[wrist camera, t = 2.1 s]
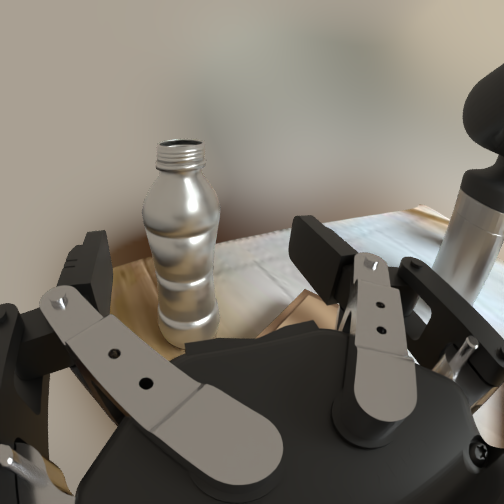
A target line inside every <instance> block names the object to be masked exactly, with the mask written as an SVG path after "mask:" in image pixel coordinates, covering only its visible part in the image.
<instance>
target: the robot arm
mask: <svg viewBox="0 0 504 504" xmlns="http://www.w3.org/2000/svg"><path fill="white" fill-rule="evenodd" d="M463 124H464V128H465V130H466V132H467V134H468V135H469V137H470V138H471V139H472V140H473V141H475V142H476V143H477V144H479V145H480V146H482V147H484V148H486V149H488V150H490V151H492V152H495V153H497V154H499V156H498V159H497V161H496V163H495V164H494V165H493V166H491V167H488V168H485V169H472V170H467V171H466V172H465V173H464V175H463V179H462V183H461V186H460V190H459V194H458V197H457V200H456V204H455V207H454V210H453V214H452V216H451V219H450V222H449V225H448V228H447V231H446V234H445V236H444V239H443V242H442V244H441V247H440V249H439V252H438V254H437V257H436V259H435V262H434V264H433V267H432V269H431V268H430V267H429V266H428V265H427V264H425V263H424V262H423V261H421V260H419V259H416V258H413V257H404V258H402V260H401V263H400V266H399V268H398V267H388V266H387V263H386V262H385V261H384V260H383V259H382V258H380V257H379V256H377V255H374V254H371V253H358V252H357V251H356V250H355V249H353V248H352V247H351V246H350V245H349V244H348V243H347V242H345V241H344V240H343V239H342V238H341V237H339V235H337V234H336V233H335V232H334V231H333V230H331V229H329V228H327V227H325V226H324V225H323V224H322V223H320V222H319V221H318V220H317V219H316V218H315V217H313V216H311V215H308V216H295V217H294V219H293V223H292V229H291V236H290V242H289V257H290V259H291V261H292V262H293V263H294V265H295V266H296V267H297V268H298V270H299V271H300V272H301V274H302V275H303V276H304V277H305V279H306V280H307V281H308V282H309V284H310V285H311V286H312V287H313V289H314V290H315V291H316V292H317V294H318V295H319V296H320V298H321V299H322V300H323V301H324V303H325V304H326V305H327V306H328V305H333V304H337V303H339V304H340V305H339V308H338V311H337V317H336V324H335V330H333V329H325V328H319V327H318V326H317V324H316V323H315V321H314V320H310V321H305V322H301V323H296V324H292V325H287V326H284V327H282V328H279V329H277V330H275V331H273V332H271V333H268V334H266V335H264V336H261V337H259V338H255V339H236V338H216V339H209V340H203V341H196V342H189V343H184V345H185V353H186V354H183V355H180V356H178V357H176V358H174V359H172V360H171V361H168V360H166V359H165V358H164V357H163V356H161V355H160V354H159V353H157V352H156V351H155V350H154V349H152V348H151V347H150V346H149V345H148V344H146V343H145V342H144V341H143V340H142V339H140V338H139V337H138V336H137V335H136V334H134V333H133V332H132V331H131V330H130V329H129V328H128V327H126V326H125V325H124V324H123V323H122V322H121V321H120V320H119V319H117V318H116V317H115V316H114V315H112V314H110V302H111V292H112V283H113V269H112V263H111V257H110V252H109V246H108V240H107V235H106V231H105V230H102V231H92V232H87V234H86V237H85V240H84V242H83V245H77V246H75V247H74V248H73V249H72V250H71V251H70V252H69V254H68V256H67V259H66V262H65V264H64V268H63V269H62V272H61V275H60V278H59V280H58V284H57V286H56V287H55V288H53V289H50V290H49V291H47V292H46V293H45V294H44V295H43V296H42V298H41V300H40V303H39V304H40V305H39V306H40V307H39V308H37V309H34V310H32V311H28V312H26V313H22V314H20V313H19V311H18V309H17V307H16V306H15V305H14V304H10V303H6V304H1V305H0V504H504V449H503V448H496V447H493V446H490V445H488V444H487V443H486V442H485V441H484V440H483V438H482V437H481V435H480V433H479V431H478V429H477V427H476V424H475V422H474V419H473V416H472V415H473V414H474V413H475V412H476V411H477V410H478V409H479V408H480V407H481V406H482V405H483V404H484V403H485V402H486V401H487V400H488V399H489V398H490V397H491V396H492V395H493V393H494V392H495V391H496V390H497V389H498V388H499V387H500V386H501V385H502V383H503V382H504V339H503V338H502V337H501V336H500V335H499V334H498V333H497V332H496V331H495V329H494V328H493V327H492V326H491V325H490V324H489V323H488V322H487V321H486V320H485V319H484V318H483V317H482V316H481V315H480V314H479V313H478V312H477V311H476V310H475V309H474V308H473V307H472V305H473V304H474V302H475V300H476V298H477V296H478V295H479V293H480V291H481V289H482V287H483V285H484V283H485V281H486V279H487V277H488V275H489V273H490V271H491V269H492V267H493V265H494V262H495V260H496V258H497V256H498V253H499V251H500V248H501V246H502V244H503V241H504V64H503V65H501V66H500V67H498V68H497V69H495V70H494V71H493V72H491V73H490V74H489V75H487V76H486V77H484V78H483V79H482V80H480V81H479V82H478V83H477V84H476V85H475V86H474V87H473V89H472V90H471V92H470V93H469V95H468V97H467V99H466V101H465V104H464V109H463ZM419 296H420V297H421V298H422V299H423V300H424V301H425V302H426V303H427V304H428V305H429V306H430V308H431V312H432V314H431V318H430V320H429V322H428V324H427V325H426V324H425V323H424V322H423V320H422V319H421V318H420V317H419V316H418V315H417V314H416V313H415V312H414V310H413V309H414V307H415V305H416V303H417V300H418V298H419ZM407 349H408V350H409V351H410V353H411V354H412V355H413V357H414V358H415V359H416V360H417V362H418V363H419V364H420V365H418V364H416V363H414V360H413V358H412V357H409V356H408V352H407ZM68 367H70V369H71V370H72V372H73V373H74V374H75V376H76V377H77V378H78V379H79V381H80V382H81V383H82V384H83V386H84V387H85V388H86V389H87V390H88V392H89V393H90V394H91V395H92V397H93V398H94V399H95V400H96V401H97V403H98V404H99V405H100V406H101V408H102V409H103V410H104V412H105V413H106V414H107V415H108V417H109V418H110V419H111V420H112V421H113V422H114V423H115V424H116V425H117V426H118V427H117V429H116V430H115V432H114V433H113V434H112V436H111V437H110V439H109V440H108V442H107V443H106V445H105V446H104V448H103V449H102V450H101V452H100V453H99V455H98V456H97V458H96V459H95V461H94V462H93V464H92V465H91V467H90V468H89V470H88V471H87V472H86V474H85V475H84V477H83V478H82V480H81V482H80V483H79V485H78V488H77V491H76V495H75V496H74V495H73V494H72V493H71V492H70V490H69V489H68V487H67V484H66V481H65V477H64V475H63V473H62V471H61V470H60V468H59V467H58V466H57V465H55V464H54V463H53V462H52V461H50V460H49V449H48V395H49V380H50V373H53V372H56V371H59V370H62V369H65V368H68Z"/></svg>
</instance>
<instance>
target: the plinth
mask: <svg viewBox="0 0 504 504" xmlns="http://www.w3.org/2000/svg"><path fill="white" fill-rule="evenodd" d="M338 308H339V305H338V304H333V305H328V306H327V305H326V304H325V303H324V301H323V300H322V299H321V298H320V296H319V295H317V294H315V293H312V292H310V291H308V290H306V289H304V290H303V291H302V293H301V294H300V295H299V296H298V297H297V298H296V299H295V300H294V301H293V302H292V303H291V304H290V305H289V306H288V307H287V308H286V309H285V310H284V311H283V312H282V313H281V314H280V315H279V316H278V317H277V318H276V319H275V320H274V321H273V322H272V323H271V324H270V325H269V326H268V327H267V328H265V329H264V330H263V331H262V332H261V333H260V334H259V335H258V336H257V337H256V338H259V337H261V336H264V335H266V334H268V333H271V332H273V331H275V330H277V329H279V328H282V327H284V326H287V325H292V324H296V323H301V322H305V321H310V320H314V321H315V323H316V324H317V326H318V327H319V328H325V329H333V330H335V324H336V317H337V311H338Z"/></svg>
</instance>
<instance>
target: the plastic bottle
mask: <svg viewBox="0 0 504 504" xmlns="http://www.w3.org/2000/svg"><path fill="white" fill-rule="evenodd" d="M204 155H205V143H204V141H201V140H196V139H174V140H167V141H162V142H159V143H158V144H157V161H156V169H157V170H159V171H160V173H159V176H158V178H157V179H156V180H155V182H154V183H153V185H152V186H151V188H150V190H149V192H148V194H147V196H146V198H145V200H144V204H143V209H142V216H143V222H144V226H145V230H146V234H147V237H148V241H149V244H150V248H151V251H152V256H153V261H154V266H155V271H156V276H157V286H158V302H159V303H158V324H159V328H160V330H161V332H162V334H163V336H164V338H165V339H166V340H167V341H168V342H169V343H170V344H172V345H174V346H176V347H178V348H181V349H185V345H184V343H189V342H196V341H203V340H209V339H213V338H214V337H215V335H216V333H217V330H218V326H219V322H220V314H219V308H218V303H217V300H216V297H215V288H214V278H213V267H214V266H213V264H214V249H215V242H216V236H217V230H218V224H219V219H220V208H221V207H220V203H219V199H218V196H217V194H216V192H215V191H214V189H213V187H212V186H211V184H210V183H209V181H208V180H207V179H206V177H205V176H204V175H203V173H202V168H204V167H205V164H206V160H205V156H204Z"/></svg>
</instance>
